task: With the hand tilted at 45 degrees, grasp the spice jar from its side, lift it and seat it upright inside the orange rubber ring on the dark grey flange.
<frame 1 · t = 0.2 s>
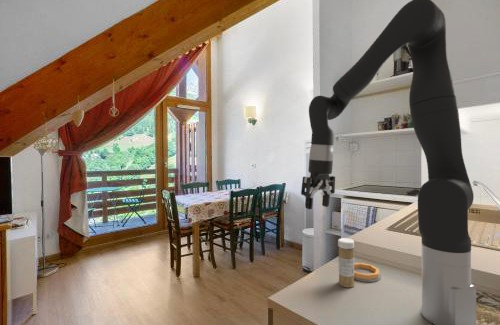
hand: (317, 207, 87), 22 cm above the counter, tool pointing down, fingers open, 8 cm apart
flange: (363, 274, 85), on the counter
spice jar: (346, 285, 79), on the counter
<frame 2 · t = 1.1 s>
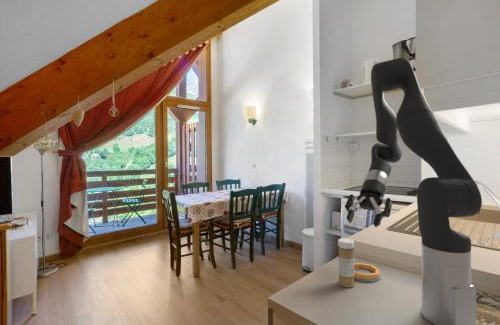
hand: (361, 223, 87), 16 cm above the counter, tool tilted 45°, fingers open, 8 cm apart
nothing on the counter moved.
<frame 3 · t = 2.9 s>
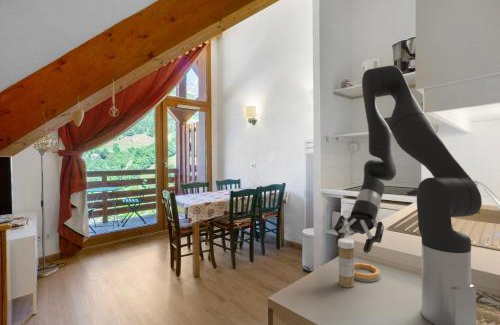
hand: (351, 248, 81), 10 cm above the counter, tool tilted 45°, fingers open, 8 cm apart
nothing on the counter moved.
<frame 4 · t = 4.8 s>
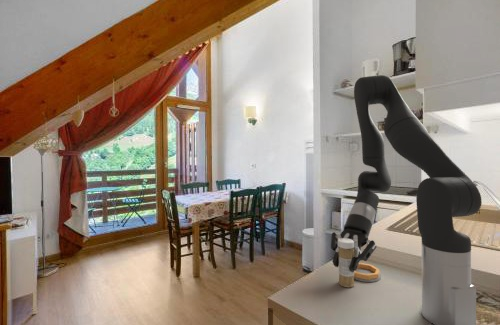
hand: (343, 267, 77), 6 cm above the counter, tool tilted 45°, fingers closed on spice jar, 4 cm apart
spice jar: (346, 285, 79), on the counter, touching gripper
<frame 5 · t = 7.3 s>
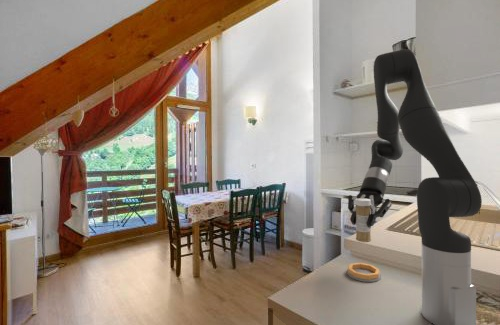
hand: (360, 224, 83), 17 cm above the counter, tool tilted 45°, fingers closed on spice jar, 4 cm apart
spice jar: (363, 241, 85), point 11 cm above the counter, touching gripper
when the fingers open (7 cm above the counter, at t = 9.8 s): spice jar stays where it is, resting on flange.
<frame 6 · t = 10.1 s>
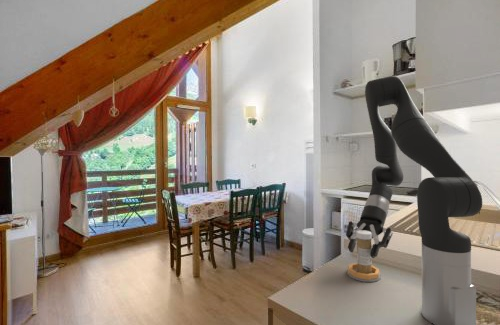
hand: (361, 253, 84), 7 cm above the counter, tool tilted 45°, fingers open, 6 cm apart
spice jar: (364, 273, 85), resting on flange
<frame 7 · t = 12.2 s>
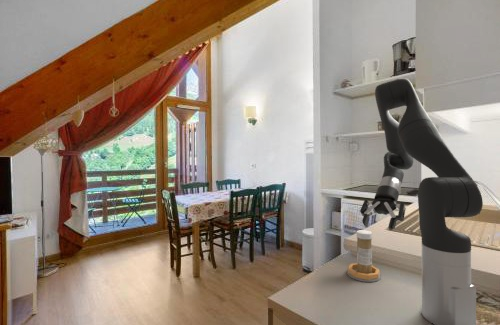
hand: (377, 226, 92), 14 cm above the counter, tool tilted 45°, fingers open, 8 cm apart
nothing on the counter moved.
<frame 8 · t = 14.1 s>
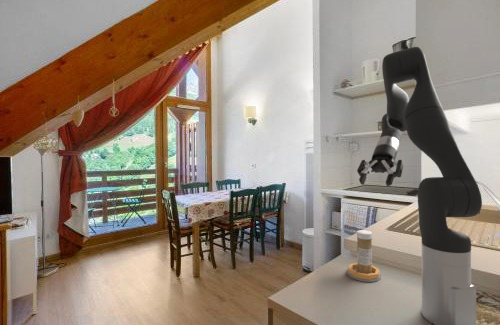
hand: (374, 184, 90), 29 cm above the counter, tool tilted 45°, fingers open, 8 cm apart
nothing on the counter moved.
at the end: spice jar 0.3 cm from the flange (horizontally); spice jar tilted 1°; the gripper is holding nothing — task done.
